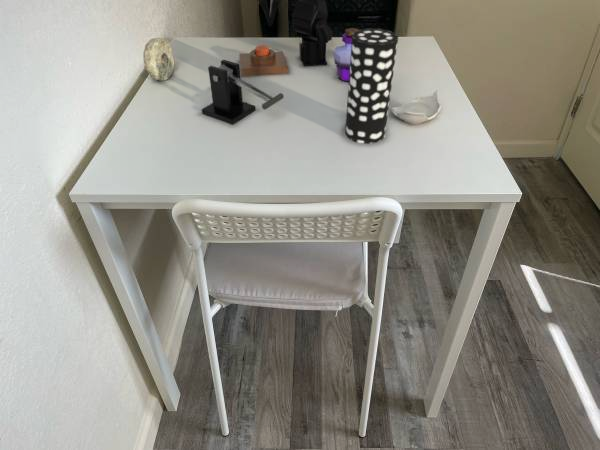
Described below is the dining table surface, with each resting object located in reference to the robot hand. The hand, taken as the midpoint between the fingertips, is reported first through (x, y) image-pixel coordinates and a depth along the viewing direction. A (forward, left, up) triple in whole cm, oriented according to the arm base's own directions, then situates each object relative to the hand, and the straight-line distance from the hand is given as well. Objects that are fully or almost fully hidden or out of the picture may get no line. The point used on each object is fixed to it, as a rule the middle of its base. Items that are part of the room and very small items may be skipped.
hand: (270, 25), depth 109 cm
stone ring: (+28, -4, -13) cm, 31 cm away
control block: (+2, -7, -13) cm, 15 cm away
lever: (+8, +21, -7) cm, 23 cm away
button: (+2, -7, -9) cm, 12 cm away
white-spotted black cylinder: (-16, +31, -13) cm, 37 cm away
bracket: (+12, +17, -13) cm, 24 cm away
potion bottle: (-19, +3, -13) cm, 24 cm away
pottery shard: (-28, +27, -13) cm, 41 cm away
